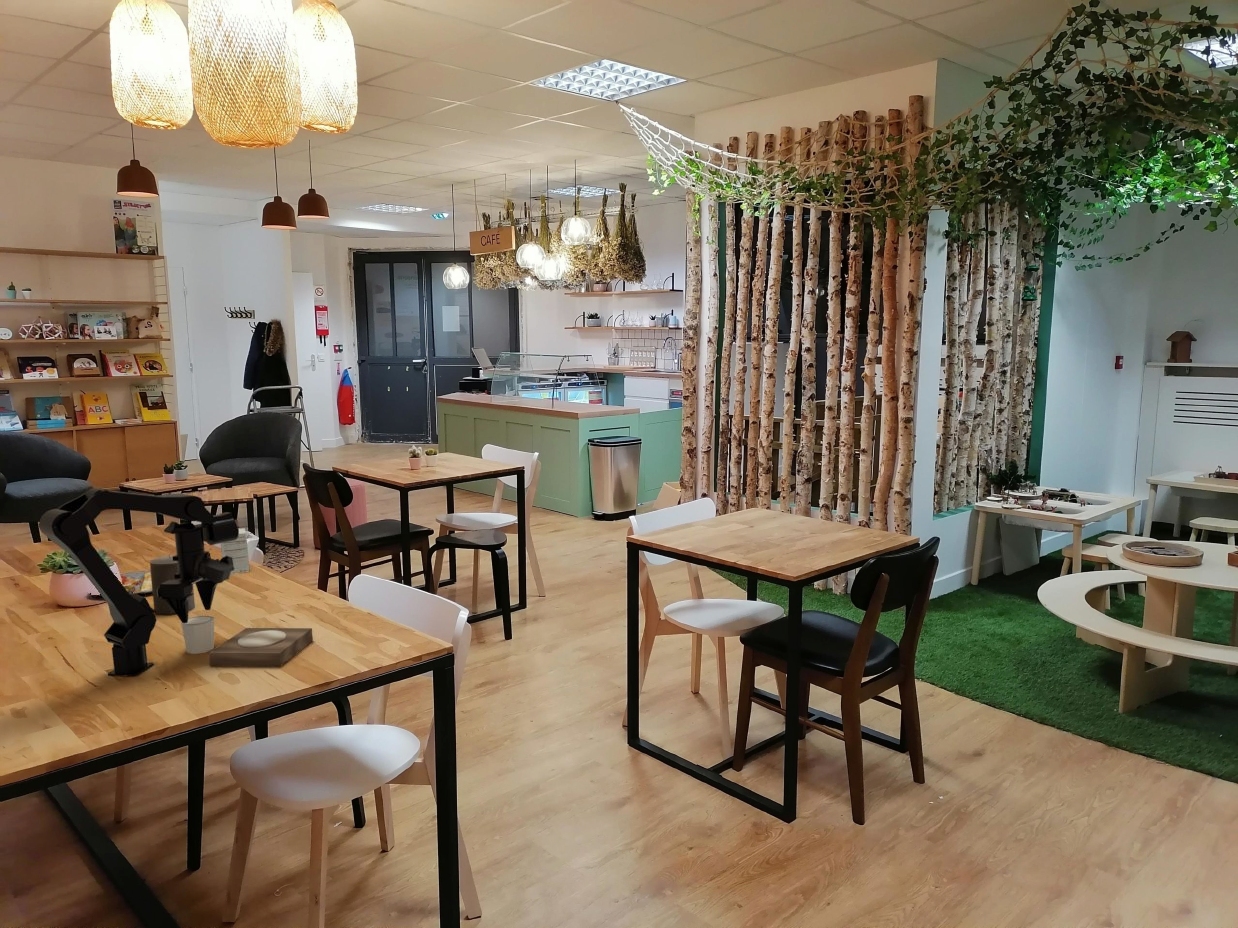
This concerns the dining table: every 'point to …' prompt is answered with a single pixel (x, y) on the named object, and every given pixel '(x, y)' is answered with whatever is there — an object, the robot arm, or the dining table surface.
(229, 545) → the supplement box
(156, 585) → the pillar candle
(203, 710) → the dining table surface
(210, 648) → the white cup
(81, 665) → the dining table surface
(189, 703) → the dining table surface
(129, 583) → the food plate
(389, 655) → the dining table surface
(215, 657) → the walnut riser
